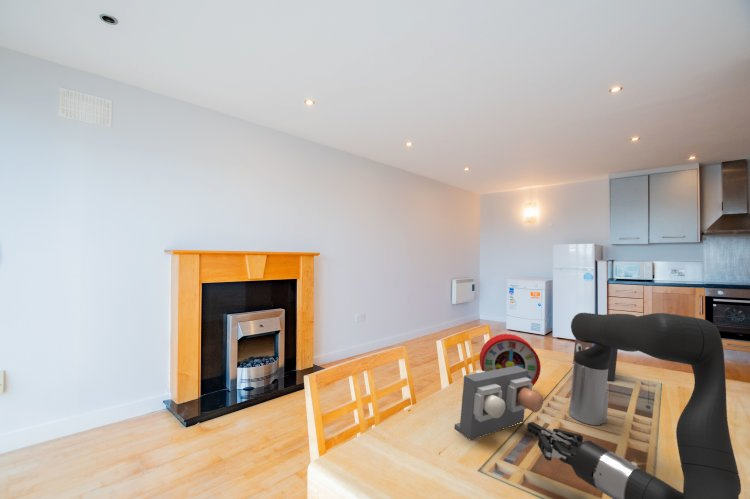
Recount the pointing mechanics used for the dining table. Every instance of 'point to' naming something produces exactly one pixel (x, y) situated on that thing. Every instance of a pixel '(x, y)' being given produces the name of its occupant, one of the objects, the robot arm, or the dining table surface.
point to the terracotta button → (530, 399)
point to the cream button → (493, 405)
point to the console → (501, 385)
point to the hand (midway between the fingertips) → (529, 426)
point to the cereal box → (612, 363)
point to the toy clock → (510, 355)
